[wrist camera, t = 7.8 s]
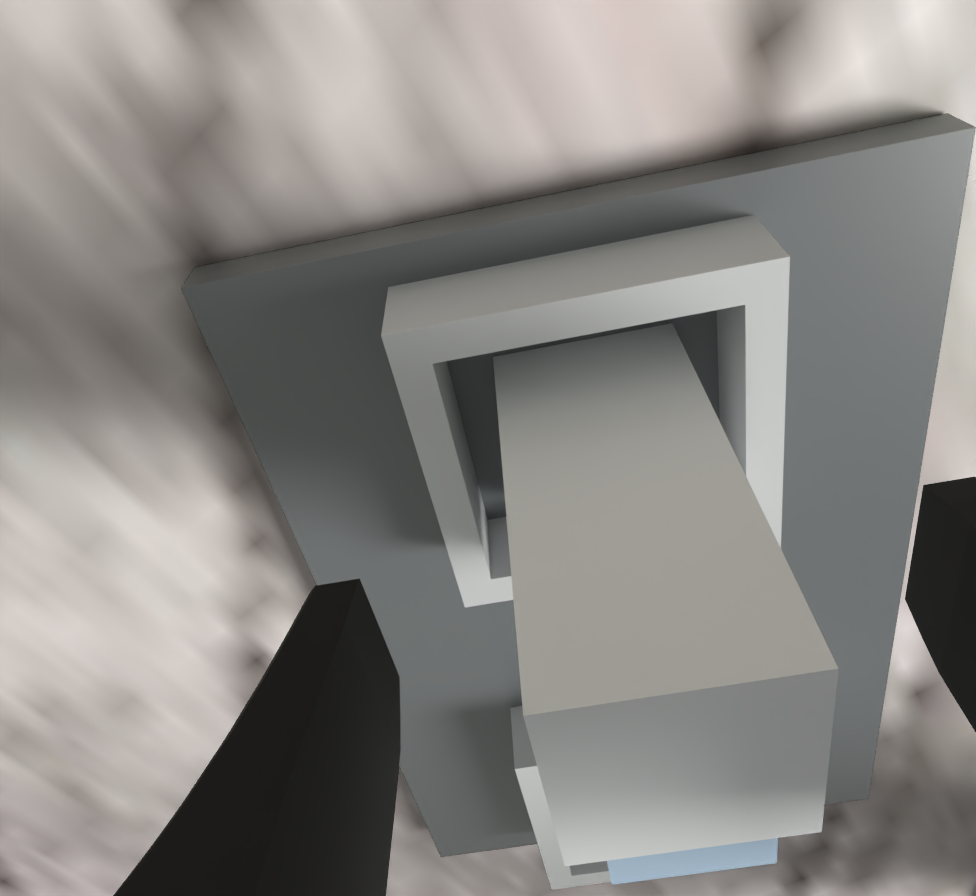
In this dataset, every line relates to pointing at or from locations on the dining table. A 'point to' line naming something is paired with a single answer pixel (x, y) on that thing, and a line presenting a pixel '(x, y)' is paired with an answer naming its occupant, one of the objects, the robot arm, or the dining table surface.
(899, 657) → the dining table surface
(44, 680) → the dining table surface
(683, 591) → the plug
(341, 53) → the dining table surface
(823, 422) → the port board
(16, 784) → the dining table surface
